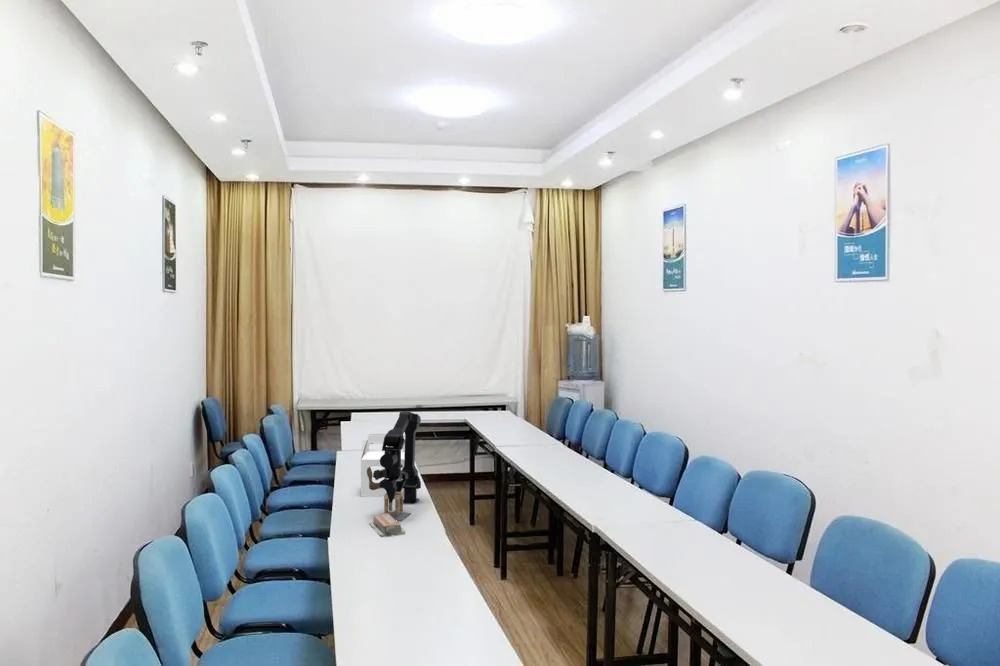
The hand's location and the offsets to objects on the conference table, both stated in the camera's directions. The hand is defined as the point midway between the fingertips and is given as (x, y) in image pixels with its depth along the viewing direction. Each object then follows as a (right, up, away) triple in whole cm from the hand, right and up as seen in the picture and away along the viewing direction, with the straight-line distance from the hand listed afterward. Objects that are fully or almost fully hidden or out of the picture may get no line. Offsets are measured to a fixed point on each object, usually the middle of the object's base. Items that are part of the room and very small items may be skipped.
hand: (393, 500), depth 307 cm
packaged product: (0, -8, -17) cm, 19 cm away
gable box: (-9, -6, +39) cm, 40 cm away
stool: (0, -5, 0) cm, 5 cm away
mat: (0, -7, 0) cm, 7 cm away
